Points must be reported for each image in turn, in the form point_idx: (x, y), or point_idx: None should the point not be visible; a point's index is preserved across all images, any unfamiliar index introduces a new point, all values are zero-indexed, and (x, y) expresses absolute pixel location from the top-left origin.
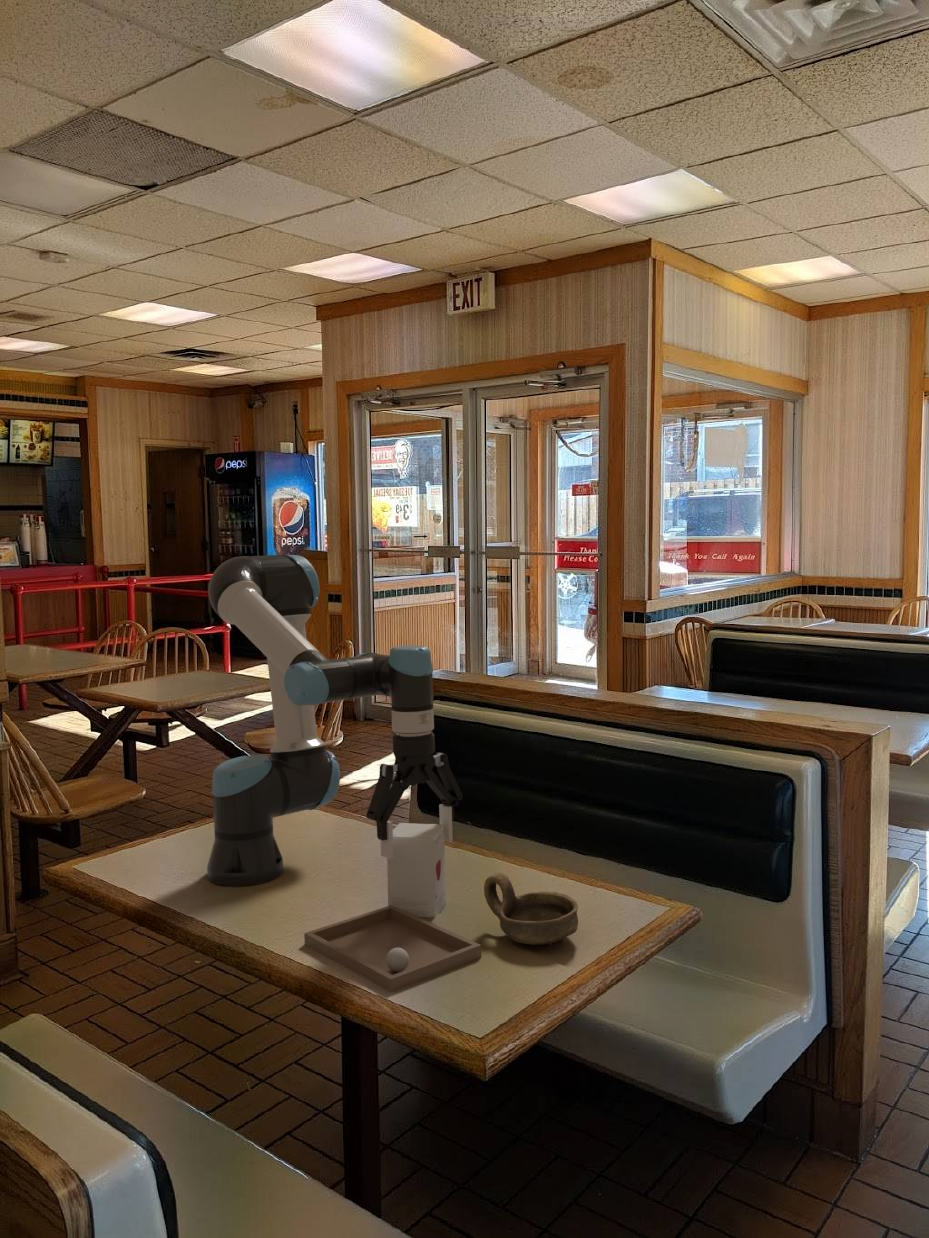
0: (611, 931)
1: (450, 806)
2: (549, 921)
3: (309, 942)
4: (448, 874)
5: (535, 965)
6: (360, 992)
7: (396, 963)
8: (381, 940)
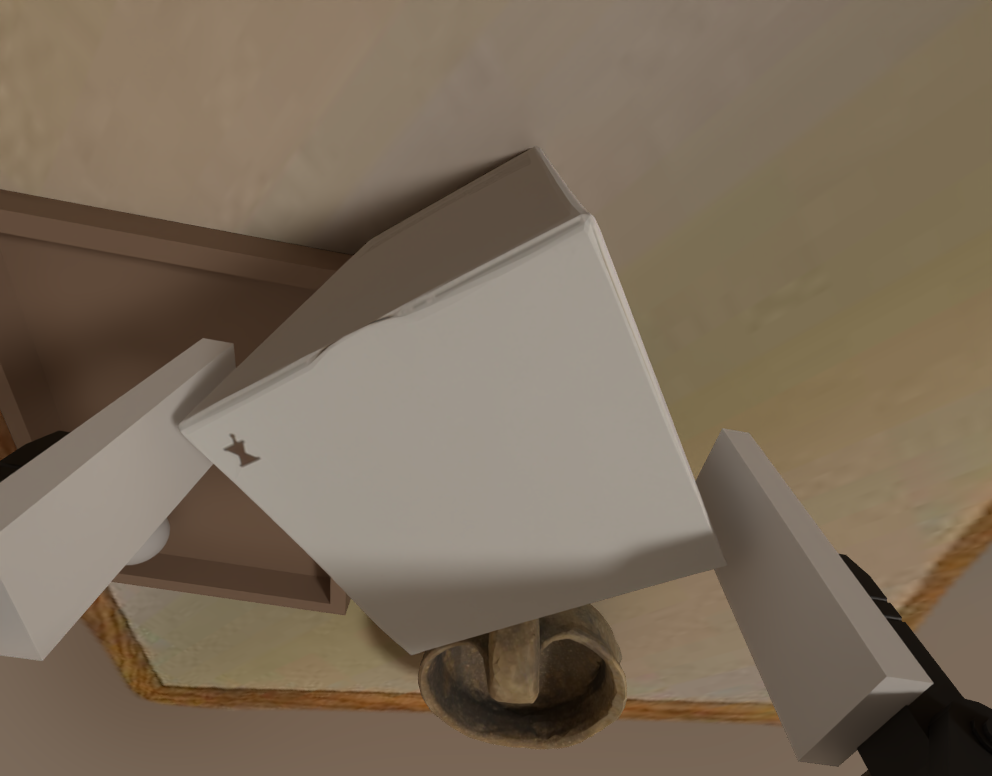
0: (641, 677)
1: (843, 758)
2: (458, 730)
3: None
4: (963, 90)
5: None
6: None
7: None
8: None
